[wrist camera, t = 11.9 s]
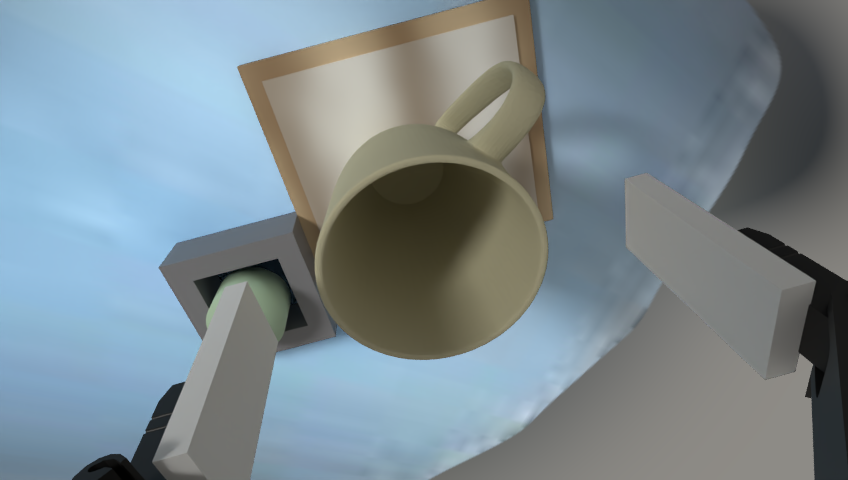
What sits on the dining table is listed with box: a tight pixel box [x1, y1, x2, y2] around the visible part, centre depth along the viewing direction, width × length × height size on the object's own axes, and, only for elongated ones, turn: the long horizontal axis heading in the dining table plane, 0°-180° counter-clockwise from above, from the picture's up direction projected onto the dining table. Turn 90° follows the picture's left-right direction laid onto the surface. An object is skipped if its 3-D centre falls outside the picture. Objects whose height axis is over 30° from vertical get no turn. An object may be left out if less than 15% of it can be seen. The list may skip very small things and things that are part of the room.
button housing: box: [159, 212, 337, 352], centre depth 30 cm, size 8×8×3 cm
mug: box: [315, 61, 548, 360], centre depth 23 cm, size 11×10×12 cm
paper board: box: [237, 0, 553, 258], centre depth 29 cm, size 16×14×1 cm
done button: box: [206, 267, 291, 342], centre depth 29 cm, size 4×4×3 cm
